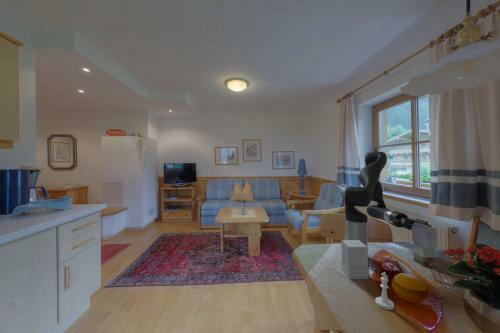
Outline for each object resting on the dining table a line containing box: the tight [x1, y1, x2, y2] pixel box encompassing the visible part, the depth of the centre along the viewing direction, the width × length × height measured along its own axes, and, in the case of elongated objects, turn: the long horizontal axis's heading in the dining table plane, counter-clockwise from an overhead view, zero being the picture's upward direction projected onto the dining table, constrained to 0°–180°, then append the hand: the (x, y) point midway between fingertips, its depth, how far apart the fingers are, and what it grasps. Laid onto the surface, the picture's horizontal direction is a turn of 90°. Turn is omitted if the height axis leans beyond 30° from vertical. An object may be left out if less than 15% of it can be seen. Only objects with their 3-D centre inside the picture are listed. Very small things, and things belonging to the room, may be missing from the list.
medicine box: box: [411, 223, 438, 250], centre depth 88 cm, size 8×4×9 cm, turn 179°
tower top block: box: [413, 243, 436, 258], centre depth 88 cm, size 5×5×4 cm
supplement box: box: [340, 239, 369, 280], centre depth 80 cm, size 7×7×13 cm
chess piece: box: [374, 271, 395, 310], centre depth 63 cm, size 5×5×10 cm
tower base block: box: [413, 252, 436, 267], centre depth 88 cm, size 5×5×4 cm
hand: (420, 227), depth 90 cm, fingers open, 8 cm apart
